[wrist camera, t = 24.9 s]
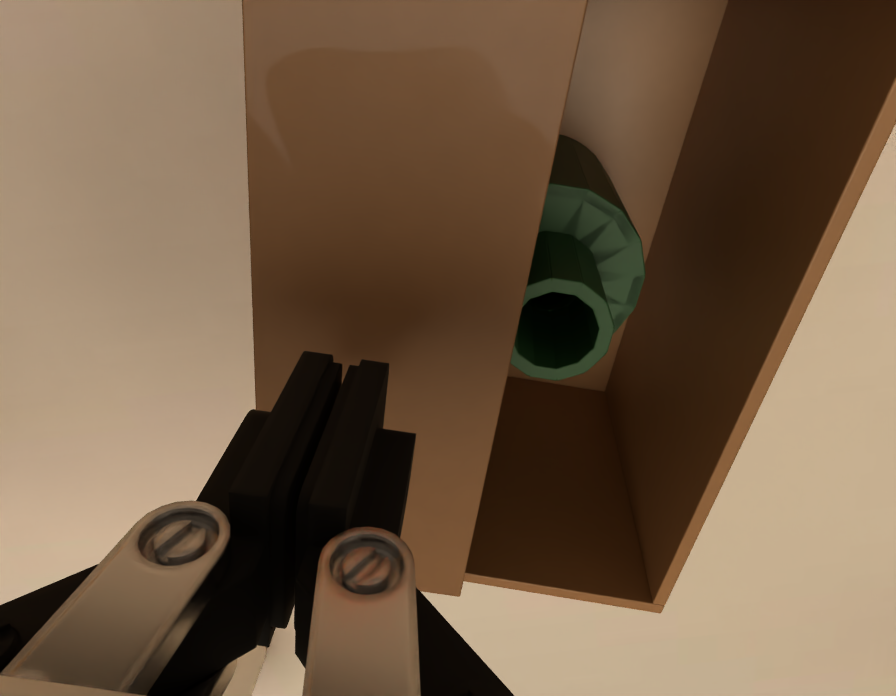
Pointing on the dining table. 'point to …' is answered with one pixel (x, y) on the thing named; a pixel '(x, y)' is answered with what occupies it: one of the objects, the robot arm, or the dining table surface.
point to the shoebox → (686, 277)
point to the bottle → (578, 270)
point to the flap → (405, 216)
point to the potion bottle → (246, 673)
